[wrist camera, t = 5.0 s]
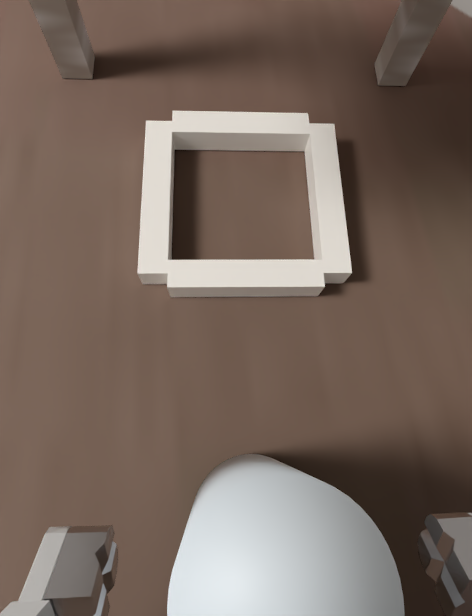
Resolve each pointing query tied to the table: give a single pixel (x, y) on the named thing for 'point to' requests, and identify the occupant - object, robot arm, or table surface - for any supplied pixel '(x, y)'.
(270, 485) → the canister
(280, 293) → the white square frame
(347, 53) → the table surface
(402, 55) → the overhang shelf
